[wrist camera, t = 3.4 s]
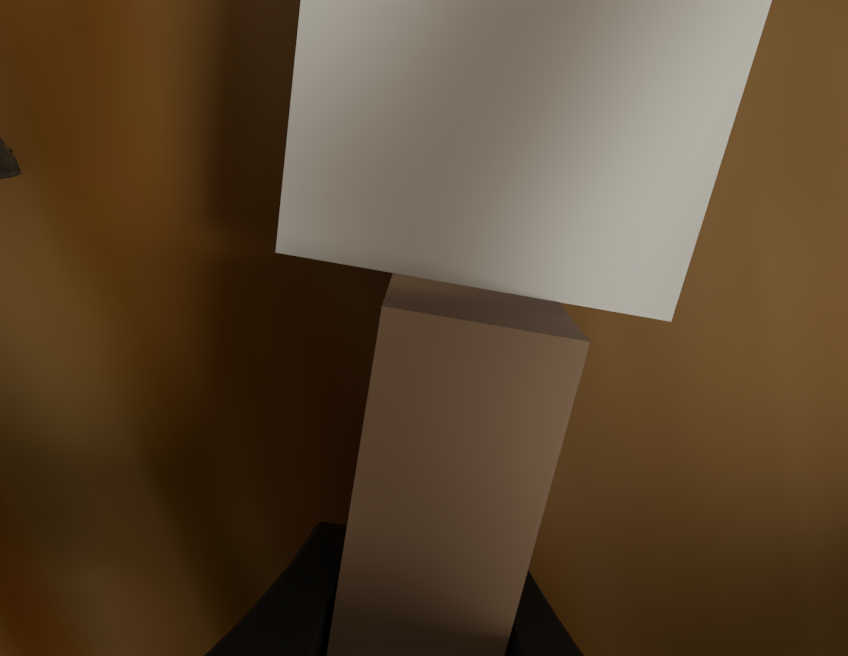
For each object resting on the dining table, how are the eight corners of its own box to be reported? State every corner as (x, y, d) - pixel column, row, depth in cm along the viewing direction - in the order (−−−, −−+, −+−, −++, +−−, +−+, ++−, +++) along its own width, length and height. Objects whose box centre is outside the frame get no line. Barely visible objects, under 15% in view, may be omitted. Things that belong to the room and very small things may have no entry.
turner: (712, -11, 9) (907, -123, 5) (492, 759, 14) (514, 981, 10) (341, -83, 9) (274, -251, 5) (249, 723, 14) (180, 938, 10)
